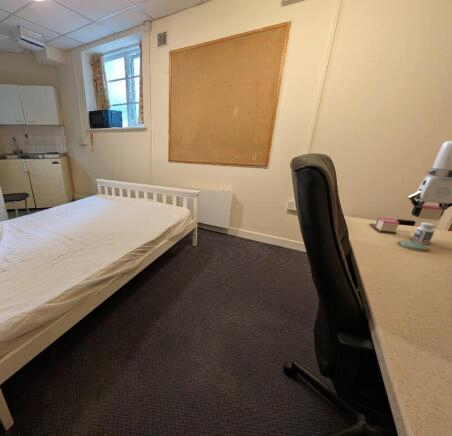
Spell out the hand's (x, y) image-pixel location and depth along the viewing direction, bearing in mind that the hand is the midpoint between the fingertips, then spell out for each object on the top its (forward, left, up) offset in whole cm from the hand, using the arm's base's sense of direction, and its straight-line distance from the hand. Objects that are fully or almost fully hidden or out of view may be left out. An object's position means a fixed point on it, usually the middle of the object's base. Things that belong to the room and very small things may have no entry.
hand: (425, 216), depth 92 cm
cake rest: (+2, -17, -13) cm, 21 cm away
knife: (-2, -19, -13) cm, 23 cm away
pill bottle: (-7, -7, -14) cm, 17 cm away
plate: (0, 0, -14) cm, 14 cm away
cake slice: (0, 0, -1) cm, 1 cm away
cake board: (+2, -19, -14) cm, 24 cm away
